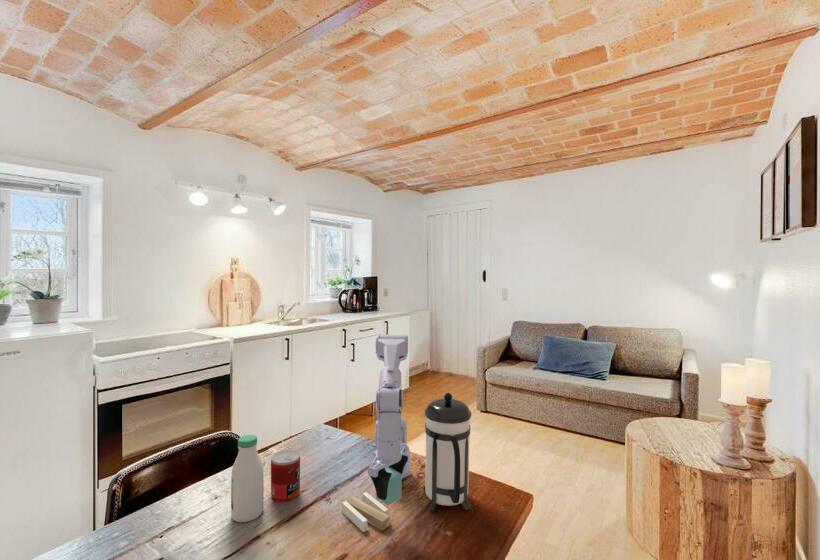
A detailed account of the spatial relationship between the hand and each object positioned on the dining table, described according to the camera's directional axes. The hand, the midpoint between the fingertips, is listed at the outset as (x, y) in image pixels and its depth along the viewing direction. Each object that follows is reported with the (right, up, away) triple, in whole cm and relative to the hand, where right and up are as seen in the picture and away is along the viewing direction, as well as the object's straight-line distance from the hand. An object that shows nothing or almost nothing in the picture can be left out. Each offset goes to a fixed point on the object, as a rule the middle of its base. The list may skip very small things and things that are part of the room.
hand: (388, 491), depth 94 cm
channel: (-6, -9, +5) cm, 12 cm away
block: (0, -1, 0) cm, 1 cm away
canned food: (-30, -9, +14) cm, 34 cm away
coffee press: (+16, -10, +11) cm, 22 cm away
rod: (-6, -10, +5) cm, 12 cm away
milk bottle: (-37, -9, +6) cm, 38 cm away
